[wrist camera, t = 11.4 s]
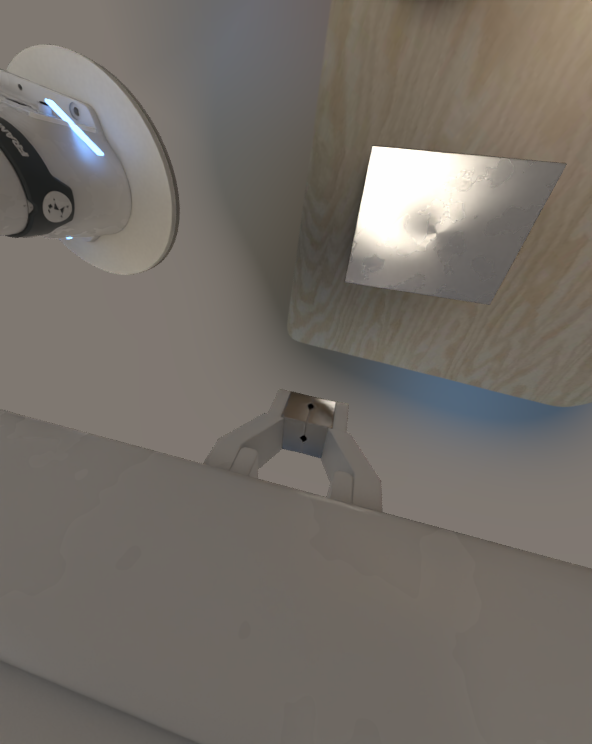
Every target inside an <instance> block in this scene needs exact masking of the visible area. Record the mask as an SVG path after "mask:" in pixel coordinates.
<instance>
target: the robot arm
mask: <svg viewBox="0 0 592 744" xmlns="http://www.w3.org/2000/svg"><path fill="white" fill-rule="evenodd" d="M78 110H79V112H78ZM79 113H80V115H79ZM131 206H132V201H131V192H130V187H129V183H128V179H127V176H126V174H125V171H124V169H123V166H122V164H121V162H120V160H119V159H118V157H117V155H116V153H115V152H114V150H113V149H112V147H111V146H110V144H109V143H108V141H107V139H106V137H105V135H104V132H103V129H102V127H101V124H100V121H99V119H98V116H97V114H96V112H95V110H94V109H93V108H92V107H91V106H90V105H89V104H87V103H85V102H82V101H80V100H77V99H75V98H72V97H70V96H67V95H65V94H62V93H60V92H57V91H55V90H52V89H50V88H48V87H45V86H43V85H40V84H38V83H35V82H33V81H30V80H28V79H25V78H23V77H20V76H18V75H15V74H13V73H10V72H8V71H5V70H3V69H0V236H3V235H5V236H8V237H15V238H18V237H23V238H25V237H26V238H27V237H36V236H37V235H41V236H42V237H44V238H47V239H59V238H67V239H72V238H81V239H82V240H83V241H85V242H94V241H96V240H97V239H98V238H99V237H100V236H102V235H110V234H115V233H118V232H120V231H121V230H122V229H123V228H124V227H125V226H126V224H127V223H128V221H129V218H130V214H131ZM348 409H349V405H348V404H347V403H342V402H336V401H331V400H326V399H322V398H317V397H312V396H309V395H304V394H300V393H296V392H291V391H287V390H283V389H279V390H278V392H277V395H276V397H275V399H274V401H273V403H272V405H271V408H270V410H269V412H268V414H267V413H264V414H262V415H260V416H258V417H256V418H255V419H253V420H251V421H249V422H248V423H246V424H244V425H242V426H240V427H239V428H237V429H235V430H233V431H232V432H230V433H228V434H226V435H224V436H223V437H221V438H219V439H218V440H217V442H216V444H215V445H214V447H213V448H212V450H211V452H210V453H209V455H208V456H207V458H206V460H205V462H204V463H203V464H202V463H198V462H194V461H191V460H187V459H183V458H180V457H176V456H172V455H168V454H165V453H161V452H157V451H154V450H150V449H146V448H142V447H139V446H135V445H131V444H127V443H124V442H120V441H117V440H113V439H109V438H105V437H102V436H98V435H94V434H90V433H87V432H83V431H79V430H76V429H72V428H68V427H64V426H61V425H57V424H53V423H50V422H46V421H42V420H38V419H34V418H31V417H27V416H23V415H20V414H16V413H13V412H9V411H6V410H3V409H0V744H592V569H591V568H587V567H584V566H580V565H576V564H572V563H569V562H565V561H561V560H558V559H554V558H550V557H546V556H543V555H539V554H535V553H532V552H528V551H524V550H520V549H517V548H513V547H509V546H506V545H502V544H498V543H495V542H491V541H487V540H483V539H480V538H476V537H472V536H469V535H465V534H461V533H458V532H454V531H450V530H447V529H443V528H439V527H435V526H432V525H428V524H424V523H421V522H417V521H413V520H410V519H406V518H402V517H398V516H395V515H391V514H387V513H384V512H382V492H381V480H380V478H379V477H378V475H377V474H376V472H375V471H374V469H373V468H372V466H371V465H370V463H369V462H368V460H367V458H366V457H365V456H364V454H363V452H362V451H361V449H360V448H359V446H358V445H357V443H356V442H355V440H354V439H353V437H352V435H351V434H350V433H347V420H348ZM281 449H286V450H290V451H295V452H299V453H303V454H307V455H310V456H314V457H318V458H321V461H322V463H323V466H324V468H325V471H326V473H327V476H328V479H329V481H330V487H329V490H328V493H327V496H326V497H324V496H320V495H316V494H313V493H309V492H306V491H302V490H298V489H294V488H290V487H287V486H283V485H280V484H276V483H272V482H269V481H264V480H261V479H258V469H259V468H260V467H262V466H263V465H264V464H265V463H266V462H267V461H269V460H270V459H271V458H272V457H273V456H275V455H276V454H277V453H278V452H279V451H280V450H281Z"/></svg>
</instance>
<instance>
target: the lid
mask: <svg viewBox="0 0 592 744" xmlns="http://www.w3.org/2000/svg"><path fill="white" fill-rule="evenodd" d="M566 165H567V164H566V163H557V162H547V161H536V160H525V159H515V158H504V157H493V156H483V155H472V154H461V153H451V152H440V151H429V150H419V149H408V148H397V147H387V146H376V145H372V148H371V153H370V158H369V163H368V168H367V173H366V178H365V183H364V188H363V193H362V198H361V203H360V208H359V213H358V218H357V223H356V228H355V233H354V238H353V243H352V248H351V253H350V258H349V263H348V268H347V273H346V278H345V282H347V283H353V284H359V285H366V286H372V287H379V288H385V289H391V290H398V291H404V292H411V293H417V294H423V295H430V296H436V297H443V298H449V299H455V300H462V301H468V302H475V303H481V304H487V305H490V303H491V301H492V300H493V298H494V296H495V294H496V292H497V290H498V289H499V287H500V285H501V283H502V281H503V280H504V278H505V276H506V274H507V272H508V270H509V269H510V267H511V265H512V263H513V261H514V259H515V258H516V256H517V254H518V252H519V250H520V249H521V247H522V245H523V243H524V241H525V239H526V238H527V236H528V234H529V232H530V230H531V228H532V227H533V225H534V223H535V221H536V219H537V218H538V216H539V214H540V212H541V210H542V208H543V207H544V205H545V203H546V201H547V199H548V197H549V196H550V194H551V192H552V190H553V188H554V187H555V185H556V183H557V181H558V179H559V177H560V176H561V174H562V172H563V170H564V168H565V166H566Z"/></svg>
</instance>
